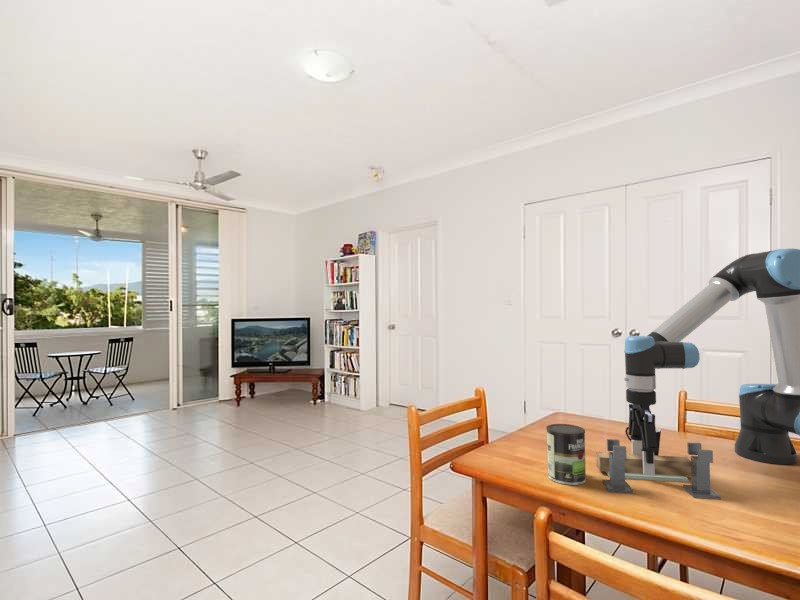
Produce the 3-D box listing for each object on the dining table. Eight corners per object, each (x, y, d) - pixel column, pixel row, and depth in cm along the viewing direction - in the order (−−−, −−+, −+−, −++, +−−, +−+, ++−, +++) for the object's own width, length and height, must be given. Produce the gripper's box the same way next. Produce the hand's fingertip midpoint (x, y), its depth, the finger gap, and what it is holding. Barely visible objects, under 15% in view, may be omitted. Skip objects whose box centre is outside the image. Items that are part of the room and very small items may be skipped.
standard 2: (707, 488, 111) (706, 443, 111) (721, 499, 105) (719, 451, 105) (682, 487, 112) (681, 442, 113) (694, 497, 106) (692, 450, 106)
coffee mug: (666, 466, 128) (665, 432, 128) (635, 464, 129) (634, 431, 130) (651, 453, 139) (651, 422, 139) (623, 451, 141) (622, 421, 141)
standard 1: (625, 483, 115) (624, 439, 115) (633, 494, 109) (632, 447, 109) (602, 482, 116) (601, 438, 117) (608, 492, 110) (607, 446, 110)
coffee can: (594, 480, 118) (593, 430, 118) (568, 488, 113) (567, 435, 113) (564, 468, 127) (563, 421, 127) (539, 475, 122) (538, 426, 122)
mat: (675, 471, 123) (675, 467, 123) (688, 482, 115) (688, 478, 115) (602, 467, 127) (602, 464, 127) (609, 477, 119) (609, 474, 119)
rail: (685, 470, 121) (685, 456, 121) (692, 476, 117) (692, 461, 117) (596, 466, 126) (596, 452, 126) (600, 471, 122) (599, 457, 122)
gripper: (615, 382, 133) (617, 454, 133) (639, 396, 112) (642, 482, 112) (641, 383, 132) (643, 456, 131) (670, 397, 111) (673, 483, 110)
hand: (642, 468), depth 121 cm, fingers open, 8 cm apart
